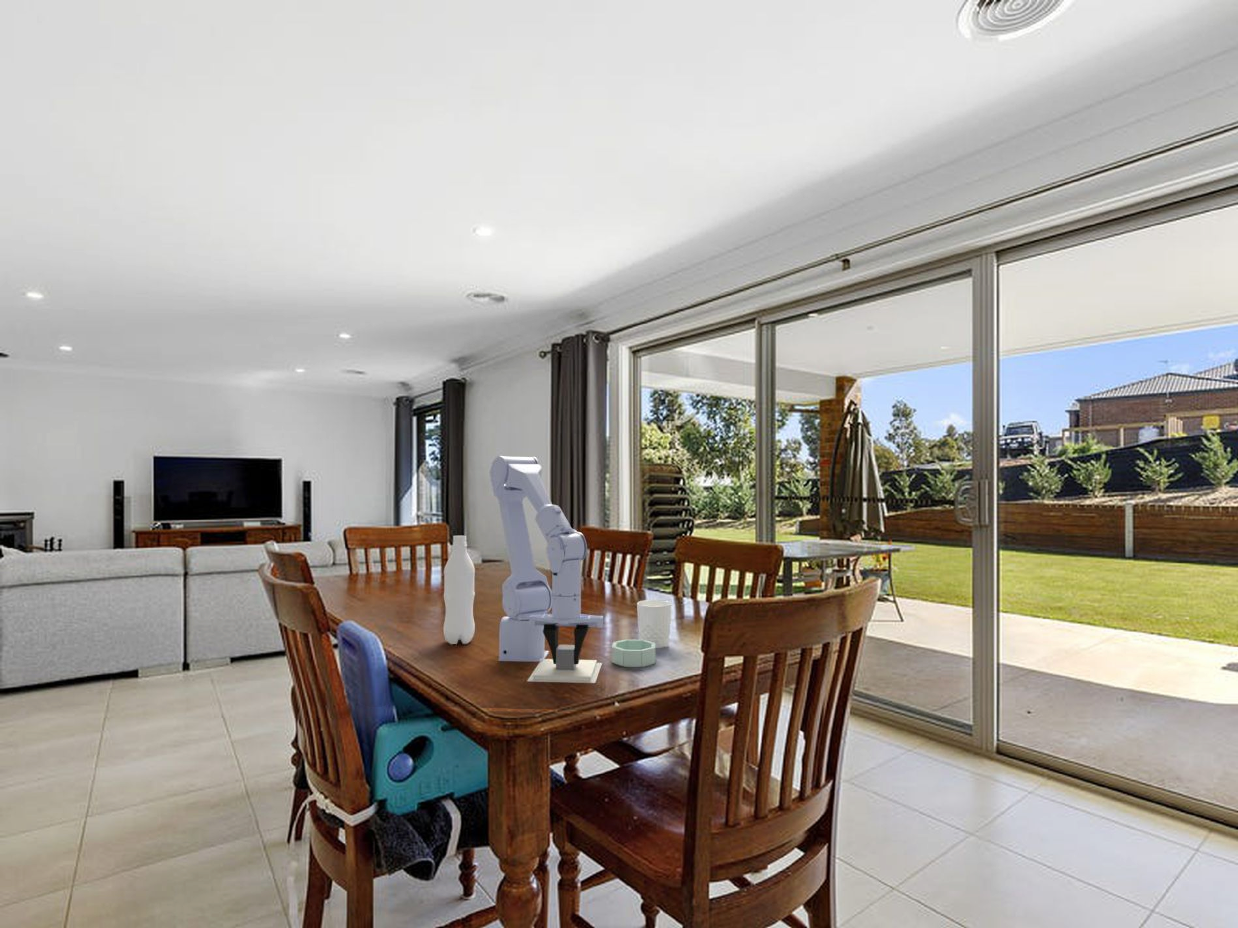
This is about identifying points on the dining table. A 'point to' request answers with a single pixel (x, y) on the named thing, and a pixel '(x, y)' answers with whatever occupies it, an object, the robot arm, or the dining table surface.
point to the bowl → (633, 653)
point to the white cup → (654, 621)
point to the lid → (565, 666)
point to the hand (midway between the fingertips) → (566, 662)
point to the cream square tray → (569, 680)
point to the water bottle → (459, 594)
